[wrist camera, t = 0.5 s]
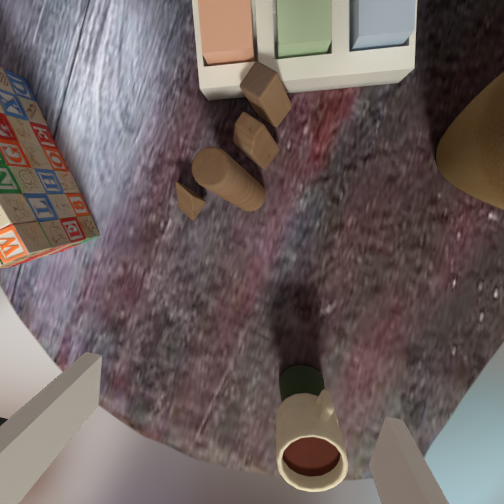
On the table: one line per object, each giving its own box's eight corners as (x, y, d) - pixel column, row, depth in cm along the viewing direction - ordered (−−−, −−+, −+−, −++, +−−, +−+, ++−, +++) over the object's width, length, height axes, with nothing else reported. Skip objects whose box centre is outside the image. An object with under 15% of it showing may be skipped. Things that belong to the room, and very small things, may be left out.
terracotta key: (205, 16, 31) (197, -5, 28) (252, 11, 31) (249, -12, 27) (210, 68, 32) (202, 53, 29) (255, 63, 32) (252, 48, 28)
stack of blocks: (-14, 98, 37) (-151, 54, 25) (26, 77, 36) (-97, 21, 24) (64, 252, 41) (-25, 276, 29) (102, 236, 40) (27, 255, 28)
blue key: (349, -1, 30) (359, -26, 26) (400, -7, 29) (416, -33, 26) (349, 53, 31) (358, 36, 27) (398, 48, 30) (414, 30, 27)
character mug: (308, 420, 43) (322, 516, 30) (263, 402, 43) (258, 490, 30) (340, 359, 40) (370, 435, 28) (293, 339, 40) (301, 407, 28)
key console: (200, 5, 33) (190, -20, 29) (401, -19, 31) (419, -50, 27) (208, 100, 35) (199, 89, 31) (397, 82, 33) (414, 68, 29)
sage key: (276, 8, 30) (276, -15, 27) (324, 2, 30) (331, -22, 27) (278, 61, 31) (278, 45, 28) (325, 56, 31) (331, 39, 28)
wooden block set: (267, 96, 37) (232, 32, 27) (321, 129, 34) (303, 70, 24) (186, 210, 40) (129, 188, 30) (229, 249, 37) (181, 239, 27)
